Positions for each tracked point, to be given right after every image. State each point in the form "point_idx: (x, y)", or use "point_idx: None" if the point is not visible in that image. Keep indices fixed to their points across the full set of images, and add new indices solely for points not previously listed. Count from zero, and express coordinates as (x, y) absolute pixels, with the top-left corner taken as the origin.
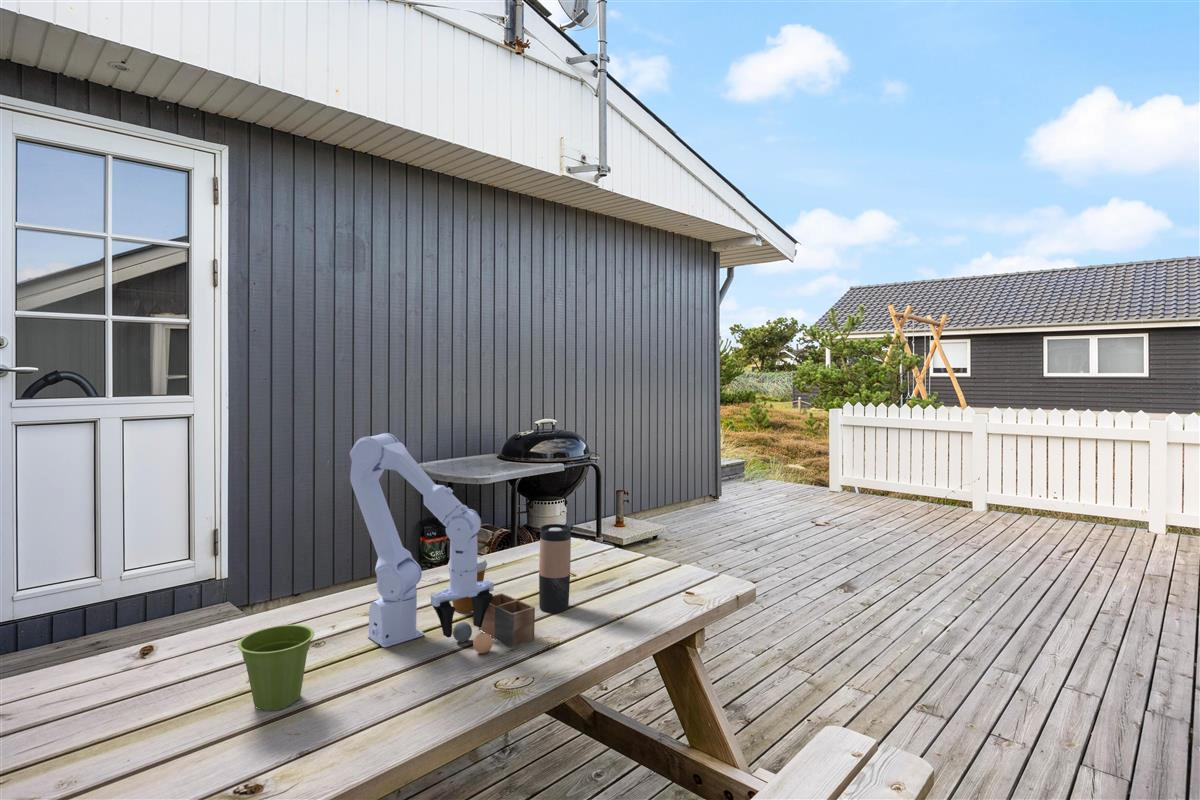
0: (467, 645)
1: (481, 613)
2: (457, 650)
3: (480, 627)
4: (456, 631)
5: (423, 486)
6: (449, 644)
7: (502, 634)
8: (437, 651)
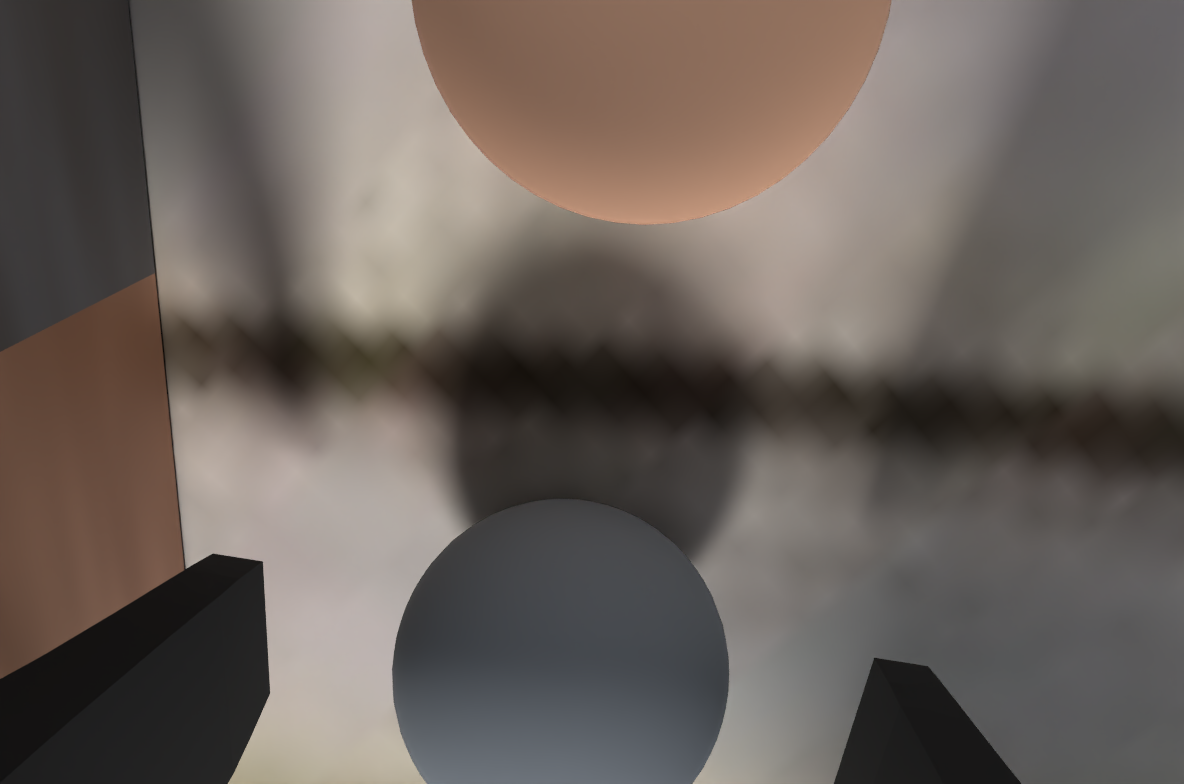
0: (628, 413)
1: (55, 743)
2: (864, 401)
3: None
4: (719, 705)
5: None
6: (776, 623)
7: (26, 48)
8: (1066, 592)
